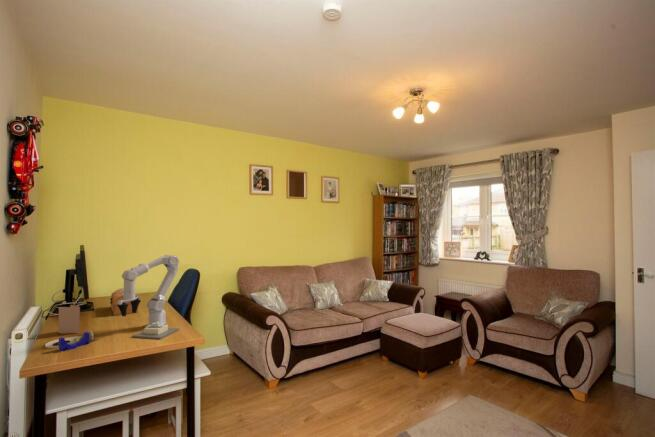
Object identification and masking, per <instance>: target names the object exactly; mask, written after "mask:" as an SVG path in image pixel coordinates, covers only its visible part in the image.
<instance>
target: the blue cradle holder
mask: <svg viewBox="0 0 655 437" xmlns="http://www.w3.org/2000/svg"><path fill="white" fill-rule="evenodd" d="M89 332H90V331H85V332H83V333H84V335H83V337H82V338H81V340H79V341H78V342H76V343H74V344H68V343H66V342H65V338H66V337H63V336H62V337H59V338H58V339H59V347H58V350H59V351H60V352H61V351H63V352H66V350H67V351H70V350H74V349H77V348H78V347H82V346H86V345H89V344H90V341H89Z"/></svg>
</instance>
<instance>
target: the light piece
mask: <svg viewBox="0 0 655 437" xmlns="http://www.w3.org/2000/svg"><path fill="white" fill-rule="evenodd" d="M88 332H89V342H91V341H94V338H95V337H94V331H92V330H91V331H88ZM83 335H84V332H79V333H77V336H76V335H75V336H70V337H64V338H65V342H66V343H68V344H74V343H76V342H78V341H79V340H81V338H82V337H83ZM57 347H58V348H59V338H58V339H53V340H51V341H49V342H46V343H45V345H44V348H47V349H58V348H57Z"/></svg>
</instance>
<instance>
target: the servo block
mask: <svg viewBox="0 0 655 437" xmlns="http://www.w3.org/2000/svg"><path fill="white" fill-rule="evenodd" d="M165 325H166V324H164V325H161V323H159V322H156V323H152V324H151V325H149V324H148V326H147V325H146V326H147V327H150V328H160V327H164V326H165Z"/></svg>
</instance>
